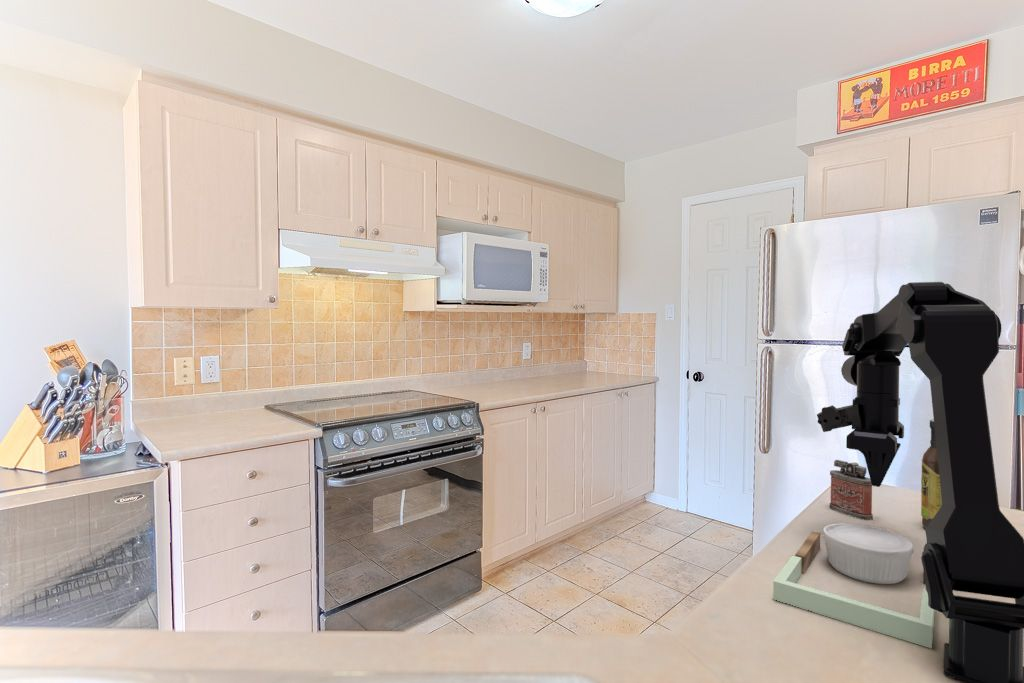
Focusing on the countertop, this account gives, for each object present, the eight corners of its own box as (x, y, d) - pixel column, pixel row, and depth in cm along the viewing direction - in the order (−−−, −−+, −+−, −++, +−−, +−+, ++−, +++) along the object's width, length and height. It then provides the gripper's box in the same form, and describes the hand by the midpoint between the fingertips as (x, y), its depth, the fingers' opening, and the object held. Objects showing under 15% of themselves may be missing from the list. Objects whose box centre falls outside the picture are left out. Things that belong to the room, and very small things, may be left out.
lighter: (877, 518, 99) (877, 466, 99) (864, 521, 98) (865, 468, 98) (836, 505, 107) (837, 457, 107) (825, 507, 106) (826, 458, 106)
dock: (931, 648, 59) (932, 626, 59) (773, 599, 69) (773, 581, 69) (934, 610, 67) (935, 591, 67) (792, 572, 77) (792, 555, 77)
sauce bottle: (926, 521, 98) (928, 416, 98) (969, 531, 93) (972, 420, 93) (916, 529, 94) (918, 419, 94) (961, 540, 89) (963, 424, 89)
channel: (932, 608, 67) (932, 583, 67) (794, 571, 78) (795, 550, 77) (935, 575, 76) (935, 553, 76) (811, 546, 87) (812, 527, 87)
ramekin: (829, 548, 86) (830, 516, 86) (915, 569, 79) (915, 534, 79) (815, 572, 77) (815, 537, 77) (909, 597, 70) (910, 558, 70)
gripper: (831, 384, 99) (830, 466, 99) (810, 393, 84) (809, 489, 85) (904, 388, 91) (903, 477, 92) (895, 398, 77) (893, 503, 77)
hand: (876, 485), depth 87 cm, fingers closed
